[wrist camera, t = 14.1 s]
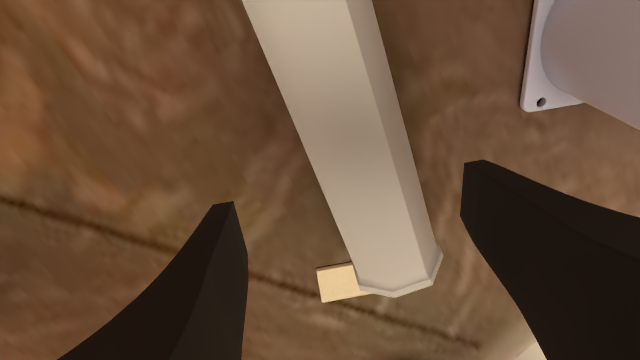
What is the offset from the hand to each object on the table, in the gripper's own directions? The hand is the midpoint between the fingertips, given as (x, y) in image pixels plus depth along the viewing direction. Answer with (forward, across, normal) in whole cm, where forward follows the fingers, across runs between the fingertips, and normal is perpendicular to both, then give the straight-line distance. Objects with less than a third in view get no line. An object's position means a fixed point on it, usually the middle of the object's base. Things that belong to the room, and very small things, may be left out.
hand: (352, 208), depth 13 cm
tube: (+10, 0, -3) cm, 10 cm away
